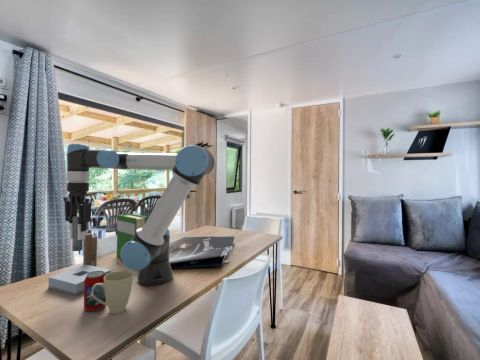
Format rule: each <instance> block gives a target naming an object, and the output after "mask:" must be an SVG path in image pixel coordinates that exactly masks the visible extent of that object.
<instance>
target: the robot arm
mask: <svg viewBox="0 0 480 360" xmlns="http://www.w3.org/2000/svg"><path fill="white" fill-rule="evenodd" d="M66 163H67V164H66V167H67V169H66V170H67V171H66V181H67V183H66V191H67V192H69V193H68V196H65V197H63V202H64V219H65V221H66V222H68V223H69V239H70V240H72V220H73V216H78V215H79V222H80V223H78V240H82V239H83V240H84V239H85V234H86V231H87V223H90V222H91V220H92V219H91V218H92V203H93V201H94V199H93V197H89V196H88V192H89V190H90V183H89V181H90V174H89V173H90V169H91V168H94V169H115V170H139V171H140V170H145V171H169V172H170V171H171V172H172V177H171V179H170V180H169V183H168V184H167V186H166V187H165V189H164V191H163V193H162V195H161V196H160V197H159V199H158V201H157V203H156V205H155V206H154V208H153V209H152V212H151V213H150V215H149V216H148V217H147V222H146V223H145V225H144V227H142V228H138V229H137V231H136V232H135V234H134V236H133V237H132V239H131V241H129V242H127V243H126V244H125V245H124V246H123V247H122V249H121V252H120V256H121V258H120V259H121V262H122V264H123V266H125V267H126V268H127V269H129V270H131V271H139V272H138V274H137V283H139V284H141V285H142V286H161V285H163V284H165V283H168V282H170V281H171V280H172V279H173V277H174V275H173V273H174V271H173V270H172V266H171V262H170V238H171V235H170V234H171V233H170V230H169V227H170V226H171V225H172V222H173V221H174V218H175V217H176V216H177V214H178V213H179V210H180V209H181V208H182V205H183V204H184V202H185V201H186V199H187V197H188V196H189V194H190V192H191V190H192V189H193V187H197V186H199V184H200V183H201V181H202V180H203V178H204V177H205V176H207V175H209V174H210V173H211V172H212V171H213V169H214V167H215V158H214V156H213V154H212V153H211V152H210V151H208V150H207V149H205V148H203V147H202V146H200V145H195V144H189V145H185V146H183V147H182V148H181V149H179V151H178V152H177V153H155V152H154V153H149V152H148V153H146V152H145V153H143V152H142V153H141V152H117V151H116V150H115V149H108V148H103V149H99V148H98V149H90V146H89V145H88V144H83V143H70V144H68V145H67V151H66Z"/></svg>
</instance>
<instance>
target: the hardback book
mask: <svg viewBox="0 0 480 360" xmlns="http://www.w3.org/2000/svg"><path fill="white" fill-rule="evenodd" d="M116 220H117V221H116V225H117V227H116V229H117V230H116V257H117V258H120V259H121V256H120V252H121V249H122V247H123V246H124V245H125V244H126V243H127V242H129V241H131V239H132V237H133V236H134V234H135V232H136V231H137V229H138V228H142V227H144V225H145V223H146V222H147V220H148V216H146V215H139V214H134V213H123V214H117V218H116Z"/></svg>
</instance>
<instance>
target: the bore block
mask: <svg viewBox="0 0 480 360" xmlns="http://www.w3.org/2000/svg"><path fill="white" fill-rule="evenodd" d="M94 271H104V273H105V275H107V274H109V273H112V269H109V268H105V267H99V266H96V265H95V266H91V265H83V264H82V265H80V266H77V267H75V268H72V269H69V270H66V271H63V272H61V273H60V272H59V273H56V274H54V275H52V276H49V277H48V289H50V290H53V291H57V292H60V293H64V294H68V295H72V296H75V297H76V296H78V295H80V294H84V280H85V278H86V276H87V274H88V273H90V272H94Z"/></svg>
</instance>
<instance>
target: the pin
mask: <svg viewBox="0 0 480 360" xmlns="http://www.w3.org/2000/svg"><path fill="white" fill-rule="evenodd" d="M78 223H80V222H79V214H77V216H73V220H72V239H71V245H72V246H71V249H72V252H80V251H84V239H82V240H78Z"/></svg>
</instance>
